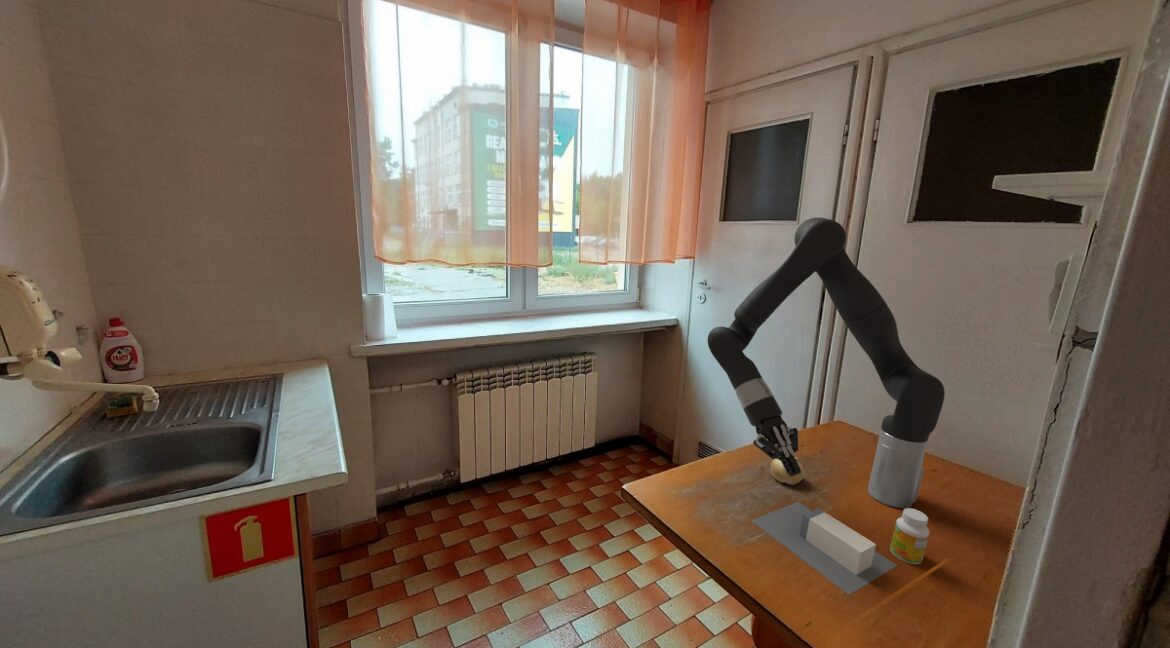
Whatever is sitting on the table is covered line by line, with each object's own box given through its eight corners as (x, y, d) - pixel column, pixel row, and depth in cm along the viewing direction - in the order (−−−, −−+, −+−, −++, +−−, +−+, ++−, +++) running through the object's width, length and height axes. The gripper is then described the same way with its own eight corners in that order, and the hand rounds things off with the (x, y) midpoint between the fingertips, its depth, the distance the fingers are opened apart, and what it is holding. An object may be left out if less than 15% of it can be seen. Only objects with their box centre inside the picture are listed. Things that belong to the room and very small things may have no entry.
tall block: (803, 514, 92) (861, 552, 82) (818, 508, 94) (876, 544, 84) (799, 535, 93) (856, 575, 83) (814, 528, 95) (871, 566, 85)
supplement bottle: (883, 546, 91) (892, 505, 89) (907, 546, 92) (917, 505, 90) (903, 566, 86) (914, 523, 84) (928, 565, 87) (940, 523, 84)
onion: (792, 493, 109) (796, 467, 107) (762, 478, 115) (766, 453, 113) (807, 482, 114) (811, 457, 112) (778, 468, 120) (781, 444, 118)
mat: (750, 522, 97) (750, 520, 97) (797, 503, 105) (797, 501, 104) (848, 597, 78) (849, 594, 78) (897, 567, 86) (897, 565, 86)
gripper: (748, 399, 97) (788, 477, 89) (787, 391, 103) (828, 463, 96) (727, 412, 103) (763, 486, 95) (766, 403, 109) (802, 472, 101)
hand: (796, 474), depth 95 cm, fingers closed
